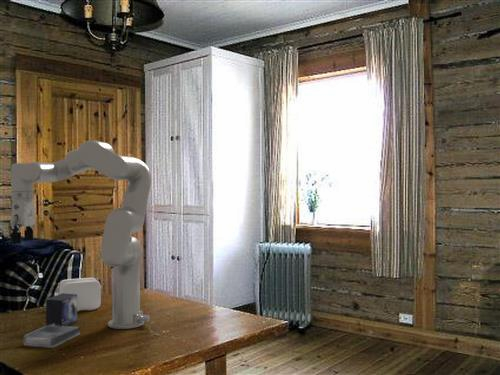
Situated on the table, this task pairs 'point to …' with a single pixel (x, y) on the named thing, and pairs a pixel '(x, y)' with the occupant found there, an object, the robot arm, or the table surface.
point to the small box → (61, 309)
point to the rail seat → (50, 336)
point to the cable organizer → (83, 292)
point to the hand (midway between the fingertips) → (22, 241)
